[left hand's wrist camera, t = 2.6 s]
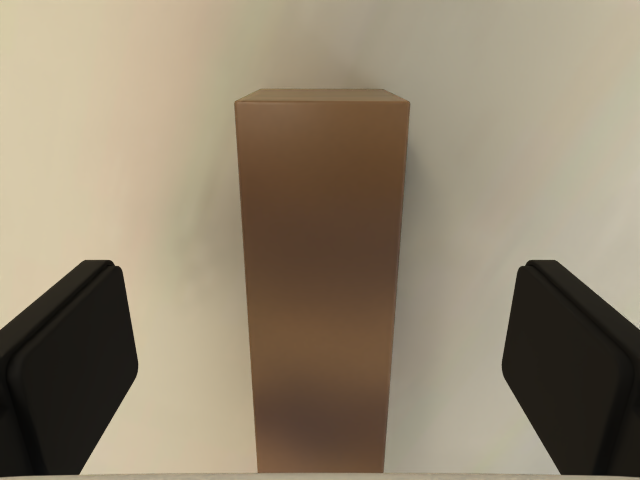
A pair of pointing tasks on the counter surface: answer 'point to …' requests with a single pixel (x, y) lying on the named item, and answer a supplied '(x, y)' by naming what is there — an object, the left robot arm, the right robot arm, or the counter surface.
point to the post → (321, 271)
